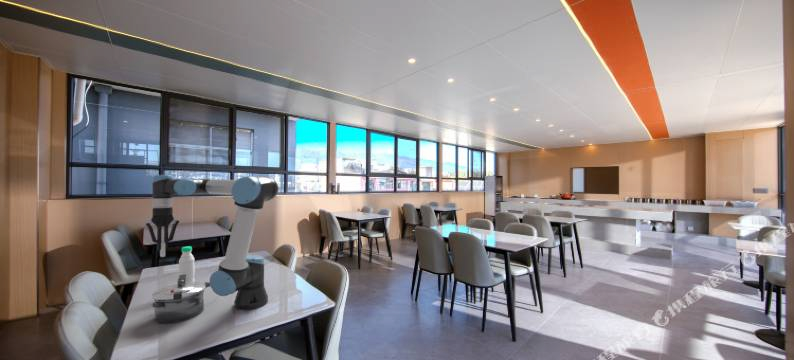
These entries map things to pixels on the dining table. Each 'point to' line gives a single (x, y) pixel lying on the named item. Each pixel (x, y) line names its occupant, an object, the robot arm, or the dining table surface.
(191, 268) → the water bottle
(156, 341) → the dining table surface
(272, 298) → the dining table surface
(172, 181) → the robot arm
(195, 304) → the pot
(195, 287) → the lid
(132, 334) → the dining table surface
